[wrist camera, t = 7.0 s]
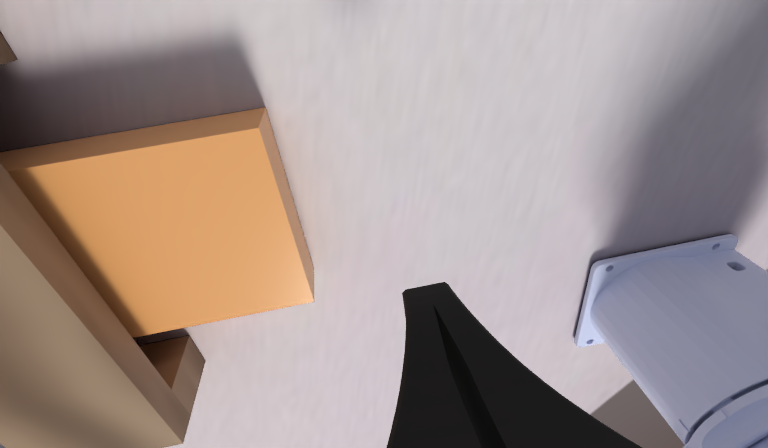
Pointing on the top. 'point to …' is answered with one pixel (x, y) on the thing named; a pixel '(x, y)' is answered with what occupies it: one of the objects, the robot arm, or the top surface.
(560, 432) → the robot arm
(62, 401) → the shelf
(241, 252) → the thin wooden plank
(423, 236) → the top surface
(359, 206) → the top surface
